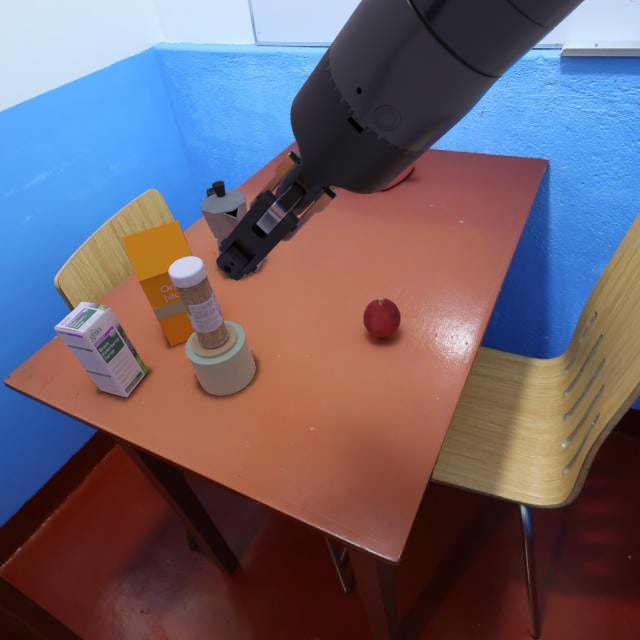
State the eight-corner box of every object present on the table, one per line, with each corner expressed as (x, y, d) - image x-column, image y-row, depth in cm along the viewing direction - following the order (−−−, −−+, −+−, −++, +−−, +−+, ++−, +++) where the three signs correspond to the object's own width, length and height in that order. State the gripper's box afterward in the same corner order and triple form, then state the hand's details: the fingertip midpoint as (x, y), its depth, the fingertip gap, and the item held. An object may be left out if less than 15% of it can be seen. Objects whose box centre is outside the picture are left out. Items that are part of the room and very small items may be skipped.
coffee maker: (275, 270, 92) (254, 187, 80) (234, 289, 90) (207, 205, 78) (245, 238, 102) (222, 160, 90) (208, 254, 100) (179, 175, 88)
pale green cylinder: (228, 404, 70) (213, 370, 64) (188, 381, 74) (171, 347, 69) (267, 364, 74) (256, 329, 69) (227, 344, 79) (214, 310, 74)
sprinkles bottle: (200, 331, 70) (168, 258, 61) (230, 325, 71) (203, 251, 61) (199, 353, 67) (165, 279, 58) (230, 346, 67) (202, 272, 58)
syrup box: (127, 399, 73) (83, 333, 63) (98, 391, 75) (51, 326, 65) (149, 371, 77) (110, 305, 67) (121, 364, 79) (80, 299, 69)
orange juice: (165, 319, 86) (119, 225, 72) (211, 303, 88) (175, 208, 74) (171, 347, 80) (122, 251, 67) (220, 329, 82) (183, 231, 68)
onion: (372, 319, 79) (370, 281, 73) (405, 326, 76) (405, 288, 71) (359, 342, 75) (355, 305, 70) (393, 351, 73) (392, 313, 68)
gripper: (387, 0, 29) (267, 163, 41) (272, 79, 20) (163, 257, 32) (469, 93, 30) (329, 224, 42) (394, 205, 21) (245, 329, 34)
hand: (257, 238), depth 37 cm, fingers open, 8 cm apart
